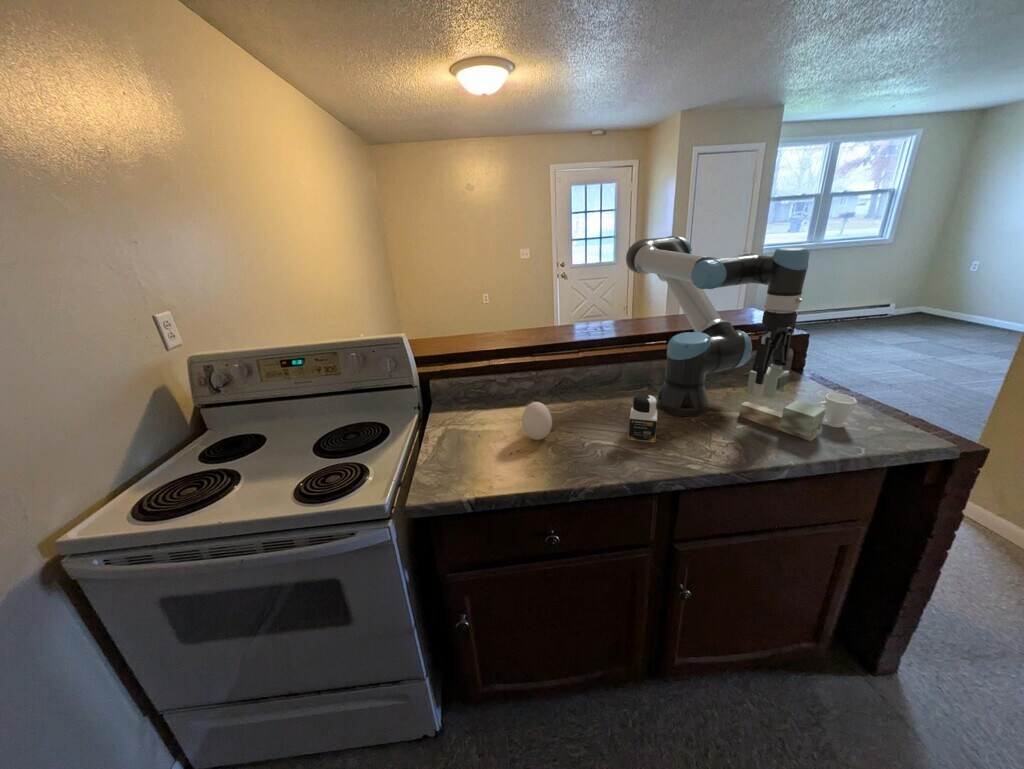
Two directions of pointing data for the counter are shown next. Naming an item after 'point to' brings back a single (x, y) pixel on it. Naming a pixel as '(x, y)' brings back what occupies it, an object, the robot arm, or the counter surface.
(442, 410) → the counter surface
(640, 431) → the medicine bottle
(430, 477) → the counter surface
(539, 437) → the egg
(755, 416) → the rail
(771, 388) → the block
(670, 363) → the robot arm
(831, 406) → the cup
